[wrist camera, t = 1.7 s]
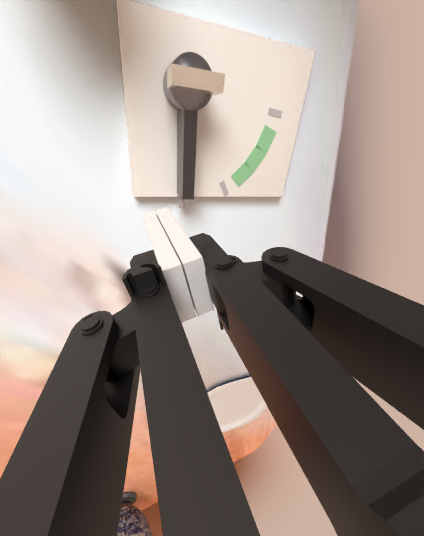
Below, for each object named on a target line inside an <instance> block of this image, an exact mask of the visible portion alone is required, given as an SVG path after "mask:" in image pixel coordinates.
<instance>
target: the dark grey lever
mask: <svg viewBox="0 0 424 536" xmlns="http://www.w3.org/2000/svg"><path fill="white" fill-rule="evenodd" d="M224 82H225V74H223V73H218V72H213V71H211V68H210V66H209V64H208V63H207V61H206V60H205V59H204V58H203V57H202V56H200V55H199V54H197V53H194V52H185V53H182V54H181V55H179V56H178V57H177V58H176V59H175V60H174V61H173V62H172V63H171V64H170V65H169V66H168V67H167V69H166V71H165V74H164V78H163V89H164V93H165V96H166V98H167V100H168V102H169V103H170V104H171V106H173V107H174V108H175V109H176V110H177V194H178V195H179V196H180V197H181V198H182V199H194V185H195V162H196V140H197V117H198V110H200V109H202V108H203V107H205V106H206V105H207V104H208V102H209V101H210V99H211V97H212V95H214V96H215V95H219V94H222V93H224Z"/></svg>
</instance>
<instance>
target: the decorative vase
mask: <svg viewBox="0 0 424 536" xmlns="http://www.w3.org/2000/svg"><path fill="white" fill-rule="evenodd" d="M135 500H136V493H134V492H126V493H123V497H122V505H121V512H120V519H119V526H118V533H117V536H153V535H152V531H151V528H150V526H149V523H148V521H147V520H146V517H145V516H144V514H143V513H142V512H141V511H140V510H139V509H138V508H137V507H135V506H133V505H132V504H133V503H134V502H135Z"/></svg>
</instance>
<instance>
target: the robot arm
mask: <svg viewBox="0 0 424 536" xmlns="http://www.w3.org/2000/svg"><path fill="white" fill-rule="evenodd" d="M155 212H156V214H155ZM155 212H154V211H152V212H148V213H145V214H141V215H142V218H143V221H144V224H145V227H146V230H147V232H148V235H149V238H150V241H151V244H152V247H153V250H151V251H148V252H145V253H141V254H138V255H135V256H133V258H132V260H131V262H130V266H131V268H130V269H129V270H127V272H126V273H125V274H124V275H123V279H122V280H123V282H124V284H125V286H126V288H127V290H128V292H129V294H130V296H131V300H132V301H131V302H130V303H129V304H128V305H127V306H126V307H125V308H123V309H122V310H121V311H119V312H117V313H116V314H114V315H111V313H110V312H107V311H97V312H94V313H91V314H89V315H87V316H86V317H84V318H82V319H81V320H80V321H79V322H78V323H77V324H76V325H75V326H74V328H73V329H72V330H71V332H70V335H69V337H68V339H67V341H66V343H65V345H64V347H63V349H62V351H61V353H60V355H59V358H58V360H57V362H56V364H55V366H54V368H53V370H52V372H51V374H50V376H49V378H48V380H47V383H46V385H45V387H44V389H43V391H42V393H41V395H40V397H39V399H38V401H37V403H36V405H35V408H34V410H33V412H32V414H31V416H30V418H29V420H28V422H27V424H26V426H25V428H24V431H23V433H22V435H21V437H20V439H19V441H18V443H17V445H16V447H15V449H14V451H13V453H12V456H11V458H10V460H9V462H8V464H7V466H6V468H5V470H4V472H3V474H2V476H1V478H0V536H117V533H118V526H119V519H120V512H121V505H122V497H123V490H124V483H125V476H126V469H127V462H128V454H129V447H130V440H131V433H132V426H133V418H134V411H135V404H136V397H137V390H138V382H139V375H140V367H141V375H142V382H143V390H144V397H145V405H146V412H147V420H148V427H149V435H150V442H151V450H152V457H153V464H154V472H155V479H156V487H157V494H158V502H159V509H160V517H161V524H162V532H163V536H260V534H259V531H258V529H257V526H256V523H255V521H254V518H253V516H252V513H251V510H250V507H249V505H248V502H247V499H246V496H245V494H244V491H243V488H242V486H241V483H240V480H239V477H238V475H237V472H236V470H235V467H234V464H233V461H232V459H231V456H230V453H229V450H228V448H227V445H226V442H225V440H224V437H223V434H222V432H221V429H220V426H219V423H218V421H217V418H216V415H215V413H214V410H213V407H212V405H211V402H210V399H209V396H208V394H207V391H206V388H205V386H204V383H203V380H202V378H201V375H200V372H199V369H198V367H197V364H196V361H195V359H194V356H193V353H192V351H191V348H190V345H189V342H188V340H187V337H186V334H185V332H184V329H183V326H182V324H181V322H184V321H187V320H189V319H192V318H194V317H196V313H197V315H198V316H199V315H202V314H204V313H207V312H209V311H212V310H214V306H213V303H214V305H215V307H216V309H217V314H218V318H219V323H220V327H221V330H222V329H223V327H224V329H225V330H226V332H227V334H228V336H229V338H230V339H231V341H232V343H233V345H234V347H235V349H236V350H237V352H238V354H239V356H240V358H241V359H242V361H243V363H244V365H245V367H246V368H247V370H248V372H249V374H250V376H251V378H252V379H253V381H254V383H255V385H256V387H257V388H258V390H259V392H260V394H261V396H262V398H263V399H264V401H265V403H266V405H267V407H268V408H269V410H270V412H271V414H272V416H273V417H274V419H275V421H276V423H277V425H278V426H279V428H280V430H281V432H282V434H283V436H284V437H285V439H286V441H287V443H288V444H289V447H290V448H291V450H292V452H293V454H294V456H295V457H296V459H297V461H298V463H299V465H300V466H301V468H302V470H303V472H304V474H305V475H306V477H307V479H308V481H309V483H310V484H311V486H312V488H313V490H314V492H315V494H316V496H317V497H318V499H319V501H320V503H321V505H322V506H323V508H324V510H325V512H326V514H327V515H328V517H329V519H330V521H331V523H332V525H333V527H334V529H335V531H336V533H337V535H338V536H424V451H423V450H422V449H421V448H420V447H419V446H418V445H417V444H415V443H414V441H413V440H412V439H411V438H410V437H409V436H408V435H407V434H406V433H405V432H404V431H403V430H402V429H401V428H400V427H399V426H398V425H397V424H396V422H394V420H393V419H392V418H391V417H390V416H389V415H388V414H387V413H386V412H385V411H384V410H383V409H382V408H381V407H380V406H379V405H378V404H377V402H376V401H374V399H373V398H372V397H371V396H370V395H369V394H368V393H367V392H366V391H365V390H364V389H363V388H362V387H361V386H360V385H359V384H358V383H357V381H356V380H358V381H359V382H361V383H362V384H363V385H364V386H366V387H367V388H368V389H370V390H371V391H372V392H374V393H375V394H376V395H378V396H379V397H380V398H382V399H383V400H385V401H386V402H387V403H389V404H390V405H391V406H393V407H394V408H395V409H397V410H398V411H399V412H401V413H402V414H403V415H405V416H406V417H407V418H409V419H410V420H411V421H413V422H414V423H415V424H417V425H418V426H420V427H421V428H422V429H423V430H424V305H421V304H419V303H417V302H414V301H412V300H410V299H407V298H405V297H403V296H400V295H398V294H396V293H393V292H391V291H389V290H386V289H384V288H381V287H379V286H377V285H374V284H372V283H369V282H367V281H365V280H363V279H360V278H358V277H356V276H353V275H351V274H349V273H346V272H344V271H342V270H339V269H337V268H335V267H332V266H330V265H328V264H325V263H323V262H321V261H318V260H316V259H313V258H311V257H309V256H306V255H304V254H302V253H299V252H297V251H295V250H292V249H289V248H286V247H276V248H271V249H268V250H266V251H265V252H264V253H263V254H262V261H256V262H248V263H243V262H242V261H241V260H240V259H239V258H238V257H236V256H232V255H227V254H226V253H225V252H224V250H223V249H222V248H221V247H220V246H219V245H218V244H217V243H216V242H215V241H214V239H213V238H212V237H211V236H210V235H207V234H204V233H202V234H198V235H195V236H192V237H188V236H187V234H186V233H185V231H184V230H183V228H182V227H181V226H180V224H179V223H178V221H177V220H176V219H175V217H174V216H173V214H172V213H171V211H170V210H169V209H168V207H166V208H162V209H159V210H155ZM156 215H157V216H156ZM296 291H297V292H298V293H300V294H302V295H303V297H300V296H298V295H296ZM194 309H195V310H194ZM195 311H196V313H195ZM353 377H354V378H355V379H356V380H355V379H354V378H353Z"/></svg>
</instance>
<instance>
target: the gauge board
mask: <svg viewBox="0 0 424 536" xmlns="http://www.w3.org/2000/svg"><path fill="white" fill-rule="evenodd" d="M117 14H118V26H119V38H120V50H121V62H122V74H123V86H124V97H125V109H126V121H127V133H128V145H129V157H130V169H131V180H132V192H133V197H179V208H184V199H182V198H181V197H180V196H179V195H178V194H177V110H176V109H175V108H174V107H173V106H171V104H170V103H169V102H168V100H167V98H166V96H165V93H164V89H163V78H164V74H165V71H166V69H167V67H168V66H169V65H170V64H171V63H172V62H173V61H174V60H175V59H176V58H177V57H178V56H179V55H181V54H182V53H185V52H194V53H197V54H199V55H200V56H202V57H203V58H204V59H205V60H206V61H207V63H208V64H209V66H210V68H211V71H213V72H218V73H223V74H225V82H224V93H222V94H219V95H215V96H214V95H212V97H211V99H210V101H209V102H208V104H207V105H206V106H205V107H203V108H202V109H200V110H198V117H197V140H196V162H195V185H194V197H282V195H283V191H284V187H285V182H286V178H287V173H288V169H289V165H290V160H291V156H292V152H293V147H294V143H295V139H296V134H297V130H298V126H299V121H300V117H301V112H302V108H303V104H304V99H305V95H306V91H307V86H308V82H309V78H310V73H311V69H312V65H313V60H314V56H315V51H313V50H310V49H306V48H302V47H299V46H295V45H291V44H288V43H284V42H280V41H277V40H273V39H269V38H266V37H262V36H258V35H255V34H251V33H248V32H244V31H240V30H237V29H233V28H229V27H226V26H222V25H218V24H215V23H211V22H207V21H204V20H200V19H196V18H193V17H189V16H185V15H182V14H178V13H175V12H171V11H167V10H164V9H160V8H156V7H153V6H149V5H145V4H142V3H138V2H134V1H131V0H117Z"/></svg>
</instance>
